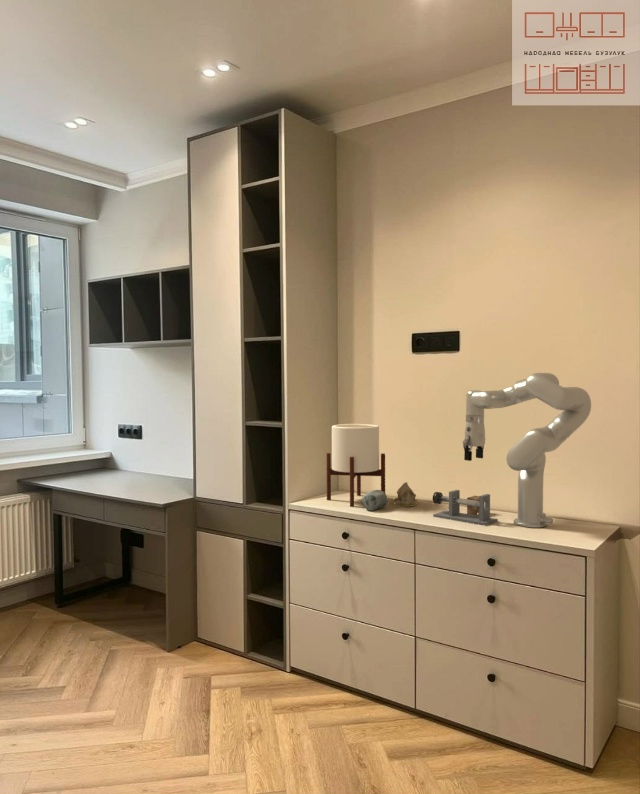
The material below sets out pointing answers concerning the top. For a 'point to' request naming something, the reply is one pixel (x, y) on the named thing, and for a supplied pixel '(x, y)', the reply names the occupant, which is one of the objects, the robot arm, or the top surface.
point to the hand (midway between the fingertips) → (473, 459)
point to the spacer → (472, 509)
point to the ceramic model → (405, 496)
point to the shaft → (439, 498)
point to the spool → (374, 500)
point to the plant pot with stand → (355, 455)
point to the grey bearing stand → (456, 515)
